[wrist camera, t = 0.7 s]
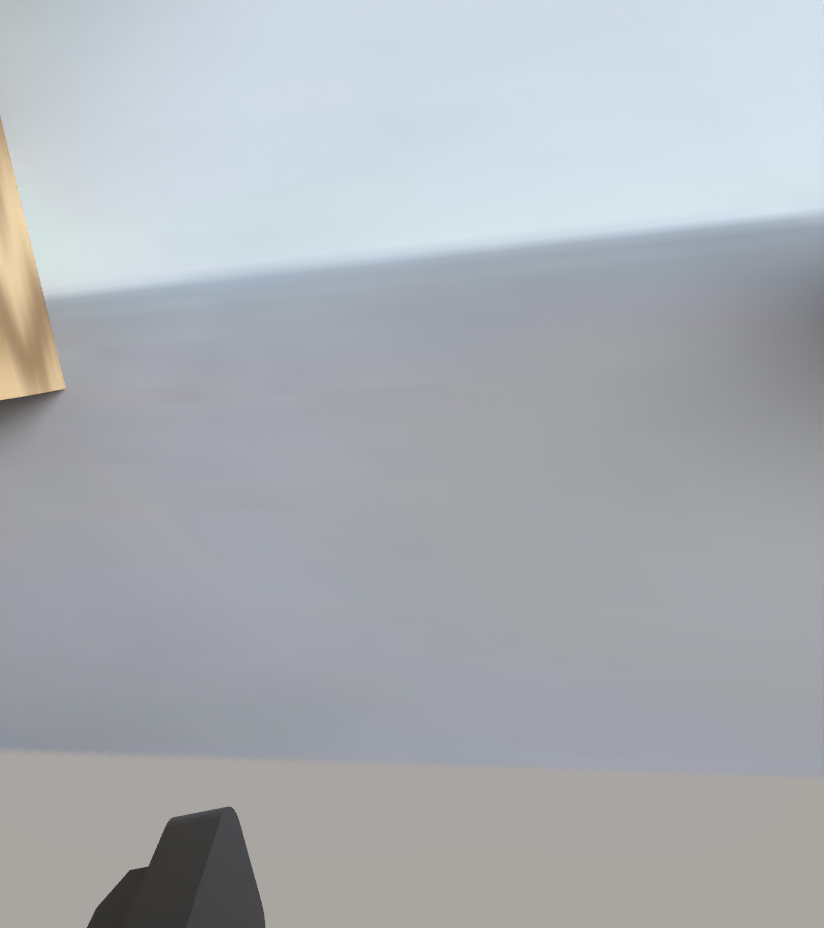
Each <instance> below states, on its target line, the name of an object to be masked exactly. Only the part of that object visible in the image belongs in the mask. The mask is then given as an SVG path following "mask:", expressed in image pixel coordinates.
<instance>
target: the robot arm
mask: <svg viewBox="0 0 824 928" xmlns="http://www.w3.org/2000/svg"><path fill="white" fill-rule="evenodd" d="M87 928H265V920H264V912H263V907H262V902H261V899H260V895H259V891H258V888H257V884H256V880H255V877H254V873H253V870H252V866H251V863H250V859H249V855H248V852H247V848H246V844H245V840H244V837H243V833H242V830H241V826H240V823H239V819H238V816H237V814H236V813H235V811H234V809H233V808H232V807H225V808H220V809H214V810H209V811H204V812H199V813H194V814H189V815H183V816H178V817H173V818H171V819H170V820H169V822H168V823H167V825H166V827H165V829H164V831H163V834H162V836H161V838H160V841H159V844H158V845H157V848H156V850H155V853H154V855H153V857H152V860H151V862H150V864H149V867H144V868H139V869H134V870H130V871H129V872H128V873H127V874H126V875H125V877H123V879H122V880H121V881H120V882H119V883H118V884H117V885H116V887H115V888H114V889H113V890H112V891H111V892H110V893H109V894H108V896H107V897H106V898H105V899H104V900H103V901H102V902H101V904H100V905H99V906H98V907H97V908H96V910H95V912H94V914H93V917H92V918H91V921H90V923H89V925H88V927H87Z"/></svg>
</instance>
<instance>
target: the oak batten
mask: <svg viewBox="0 0 824 928" xmlns="http://www.w3.org/2000/svg"><path fill="white" fill-rule="evenodd" d="M62 389H66V387H65V383H64V379H63V375H62V370H61V366H60V362H59V358H58V354H57V350H56V346H55V341H54V337H53V333H52V329H51V325H50V321H49V317H48V312H47V308H46V304H45V300H44V296H43V292H42V288H41V284H40V279H39V275H38V271H37V267H36V263H35V259H34V255H33V250H32V246H31V242H30V238H29V234H28V230H27V226H26V221H25V217H24V213H23V209H22V205H21V201H20V197H19V192H18V188H17V184H16V180H15V176H14V172H13V168H12V163H11V159H10V155H9V151H8V147H7V143H6V139H5V134H4V130H3V126H2V122H1V118H0V400H4V399H10V398H17V397H23V396H29V395H34V394H40V393H45V392H51V391H56V390H62Z"/></svg>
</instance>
